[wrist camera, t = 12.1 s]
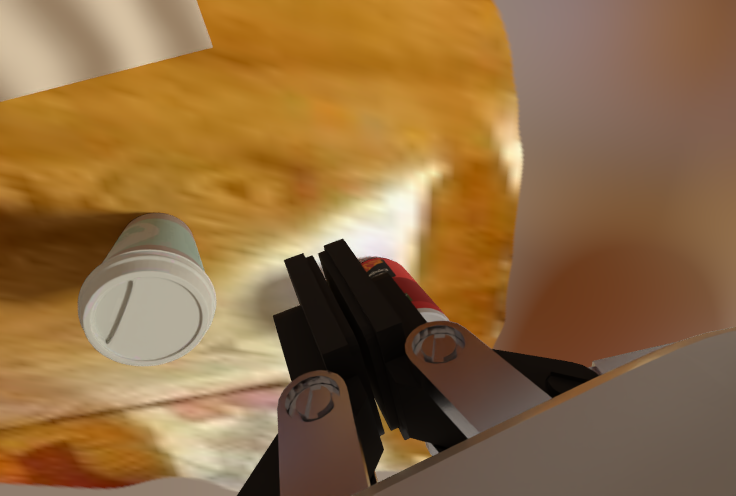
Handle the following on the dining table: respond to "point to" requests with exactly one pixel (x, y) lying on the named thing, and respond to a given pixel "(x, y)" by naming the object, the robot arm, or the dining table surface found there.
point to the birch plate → (90, 39)
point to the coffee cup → (148, 294)
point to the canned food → (406, 287)
